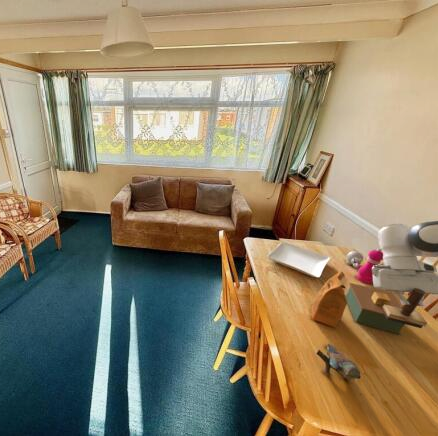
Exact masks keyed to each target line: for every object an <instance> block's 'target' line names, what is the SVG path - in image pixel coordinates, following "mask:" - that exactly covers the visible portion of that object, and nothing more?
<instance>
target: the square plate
mask: <svg viewBox="0 0 438 436" xmlns="http://www.w3.org/2000/svg"><path fill="white" fill-rule="evenodd" d="M266 257H267V258H268V259H269V260H271V261H273V262H274V263H277V264H280V265H283V266H285V267H287V268H289V269H292V270H294V271H297V272H300V273H302V274H304V275H307V276H309V277H312V278H321V276H322V274H323V272H324V269H325V267H327V266H326V265H327V264H328V263H329V262H330V260H331V257H330V256H328V255H325V254H323V253H320V252H317V251H314V250H312V249H309V248H305V247H303V246H299V245H297V244H294V243H291V242H287V241H281V242H280V243H279V244H278V245H277V246H276V247H275V248H274V249H273V250H272V251H271V252H269V254H268V255H267V256H266Z"/></svg>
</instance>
